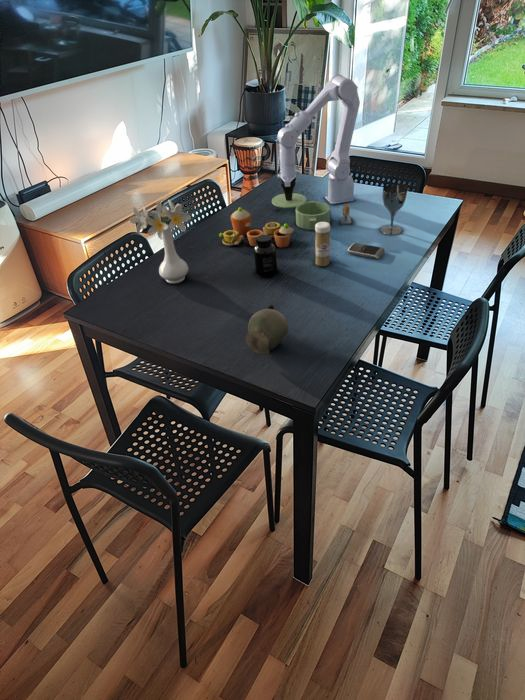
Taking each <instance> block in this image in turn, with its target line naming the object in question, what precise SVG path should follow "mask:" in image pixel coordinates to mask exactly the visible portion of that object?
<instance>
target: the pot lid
mask: <svg viewBox="0 0 525 700" xmlns="http://www.w3.org/2000/svg"><path fill="white" fill-rule="evenodd" d="M306 202H307V197H306V196H305V195H304V194H301V193H296V192H295V193H294V192H293V195H292V200H286V198H285V194H284V193H281V194H277V195H275V196H273V197H272V199H271V204H272V205H273V206H274V207H278V208H280V209H281V208H283V209H291V208H296V207H297V206H298V205H300V204H302V203H306Z"/></svg>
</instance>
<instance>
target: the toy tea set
mask: <svg viewBox="0 0 525 700" xmlns="http://www.w3.org/2000/svg"><path fill="white" fill-rule="evenodd" d="M230 221H231V224H232V228H233V229H229V230H226V231H224V232H220V233H219V234H218V236H219V237H220V238H223V239H222V241H221V242H222V244H223V245H225V246H236V245H237V246H238V245H239V244H240V243H242V240H243V239H245V236H247V240H248V244H249V246H251V247H255V246H256V238H257V237H258V236H260V235H270V236H271V237H272V238H274V242H275V245H276V247H278V248H287V247H289V245H290V242H291V235H292V233H293V232H294V228H293V227H291V226H289V224H288V223H284V224H283V225H281V224H280V222H276V221H270V222H268V223H265V225H264V226H262V230H261V229H251V227H252V214H251V213H250V212H249V211H247V210H246V209H243V208H242V207H241V206H240V207H238V208H237V210H234V212H233V213H231V215H230Z"/></svg>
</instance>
